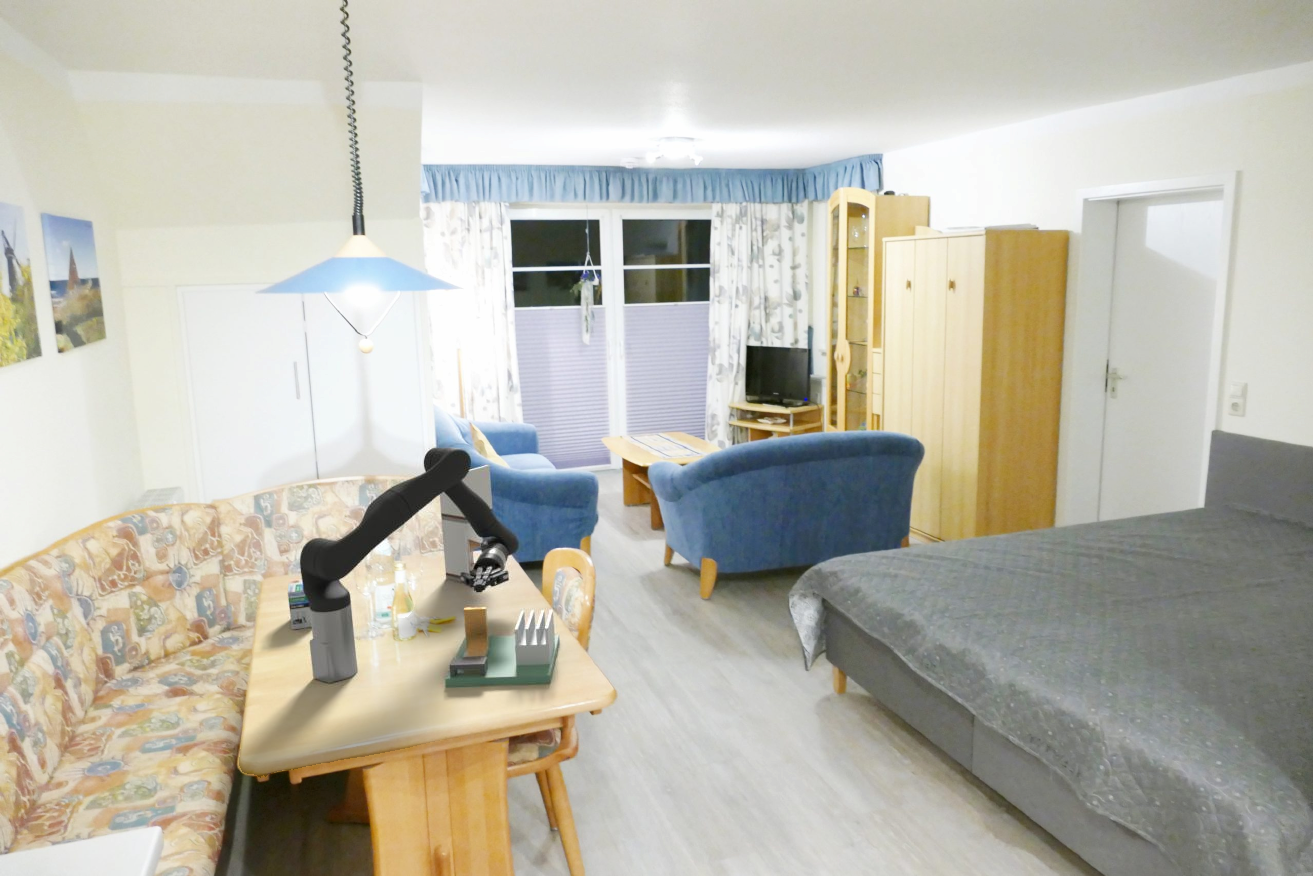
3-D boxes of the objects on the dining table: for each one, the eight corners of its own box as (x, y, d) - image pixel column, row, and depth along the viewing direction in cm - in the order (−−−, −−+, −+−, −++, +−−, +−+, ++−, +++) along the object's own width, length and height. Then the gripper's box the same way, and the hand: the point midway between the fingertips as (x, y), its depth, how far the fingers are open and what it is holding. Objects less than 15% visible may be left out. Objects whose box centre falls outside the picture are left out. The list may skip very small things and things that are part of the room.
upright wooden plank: (467, 650, 224) (464, 607, 222) (489, 649, 224) (486, 607, 222) (463, 660, 218) (459, 617, 216) (484, 659, 218) (481, 616, 216)
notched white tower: (470, 584, 278) (462, 472, 272) (446, 578, 284) (437, 469, 278) (496, 573, 288) (489, 465, 281) (472, 568, 293) (464, 462, 287)
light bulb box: (317, 626, 248) (313, 589, 247) (291, 630, 246) (286, 592, 244) (318, 613, 258) (314, 577, 256) (292, 617, 256) (288, 580, 254)
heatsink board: (465, 644, 233) (462, 603, 231) (559, 641, 233) (557, 600, 231) (445, 687, 210) (442, 642, 208) (550, 683, 210) (547, 638, 208)
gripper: (464, 553, 243) (450, 575, 226) (513, 551, 243) (504, 573, 226) (466, 580, 244) (453, 604, 227) (515, 577, 244) (506, 601, 227)
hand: (478, 588), depth 226 cm, fingers closed
